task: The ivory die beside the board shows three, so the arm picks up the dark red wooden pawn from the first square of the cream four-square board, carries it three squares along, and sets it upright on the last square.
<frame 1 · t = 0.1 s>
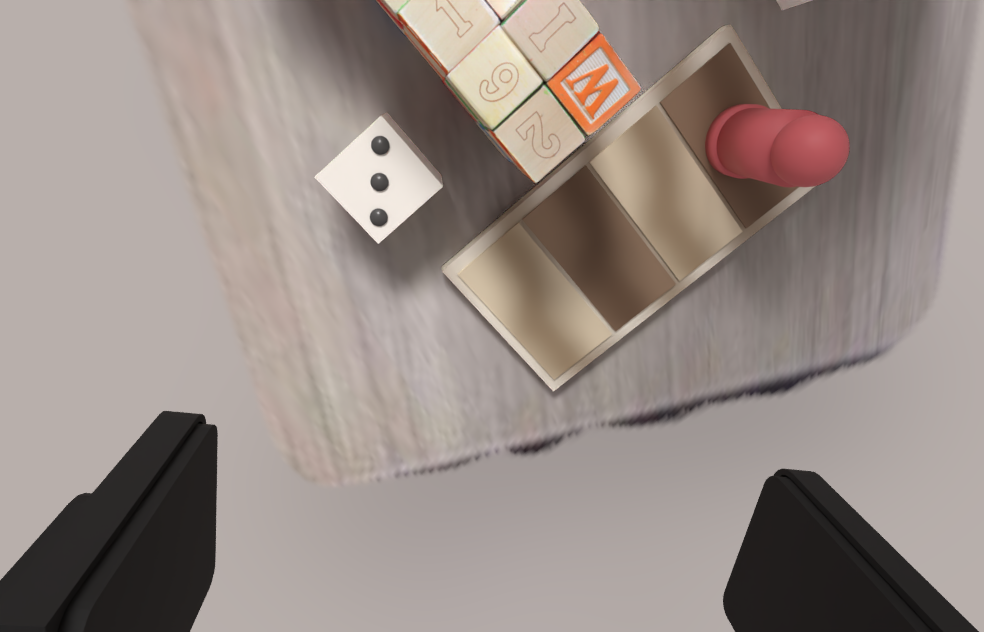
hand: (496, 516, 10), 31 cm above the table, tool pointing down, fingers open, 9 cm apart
pawn: (738, 140, 38), point 1 cm above the table, touching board
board: (628, 221, 41), on the table
die: (385, 171, 38), on the table
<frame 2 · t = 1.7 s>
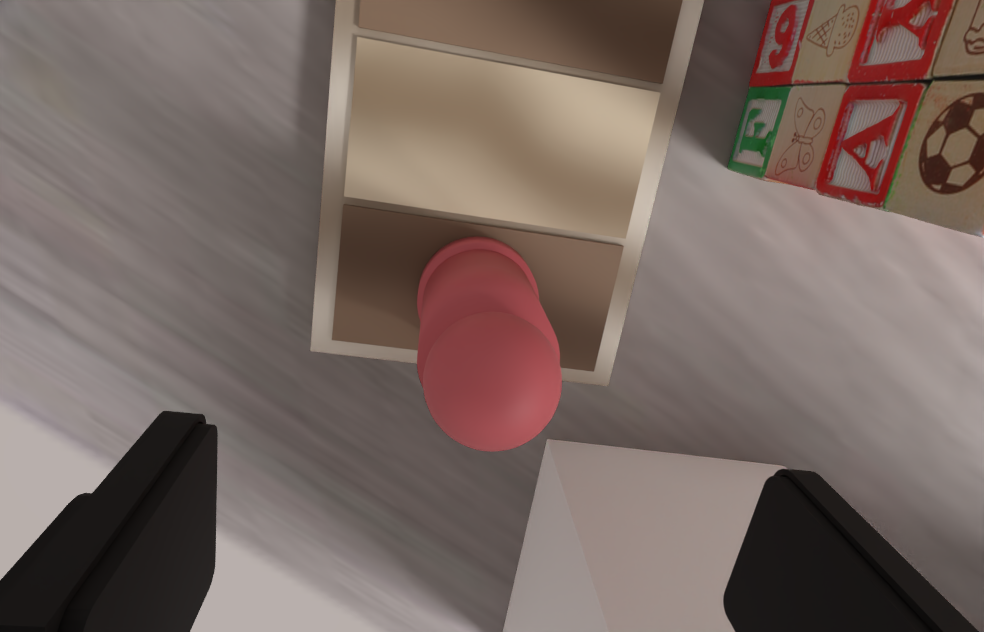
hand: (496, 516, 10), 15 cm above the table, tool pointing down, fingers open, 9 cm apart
milk: (635, 555, 30), on the table
pawn: (476, 293, 23), point 1 cm above the table, touching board
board: (510, 63, 22), on the table
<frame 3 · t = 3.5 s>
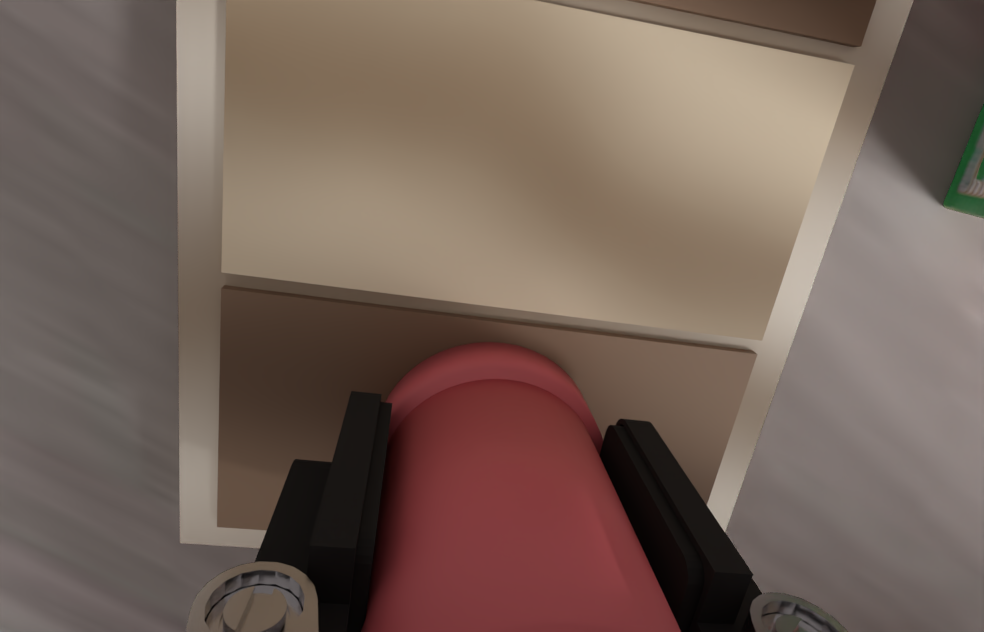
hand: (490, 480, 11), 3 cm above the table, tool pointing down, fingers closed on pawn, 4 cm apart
pawn: (484, 441, 12), point 1 cm above the table, touching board, gripper
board: (550, 7, 11), on the table
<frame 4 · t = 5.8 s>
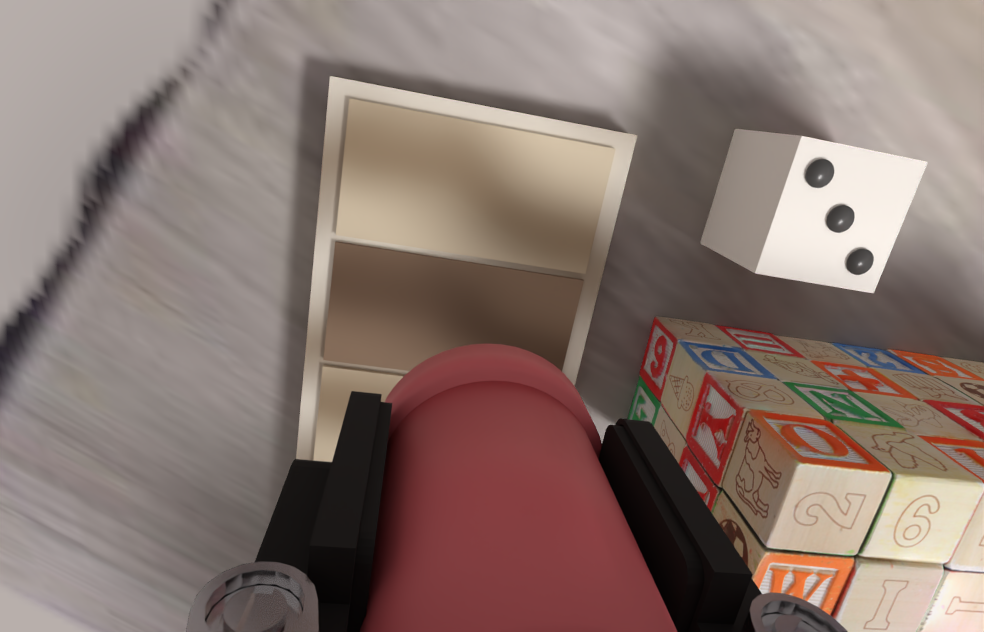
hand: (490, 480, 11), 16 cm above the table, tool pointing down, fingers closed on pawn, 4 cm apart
stack of blocks: (831, 396, 31), on the table
pawn: (483, 442, 12), point 15 cm above the table, touching gripper
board: (442, 365, 28), on the table
die: (768, 197, 27), on the table
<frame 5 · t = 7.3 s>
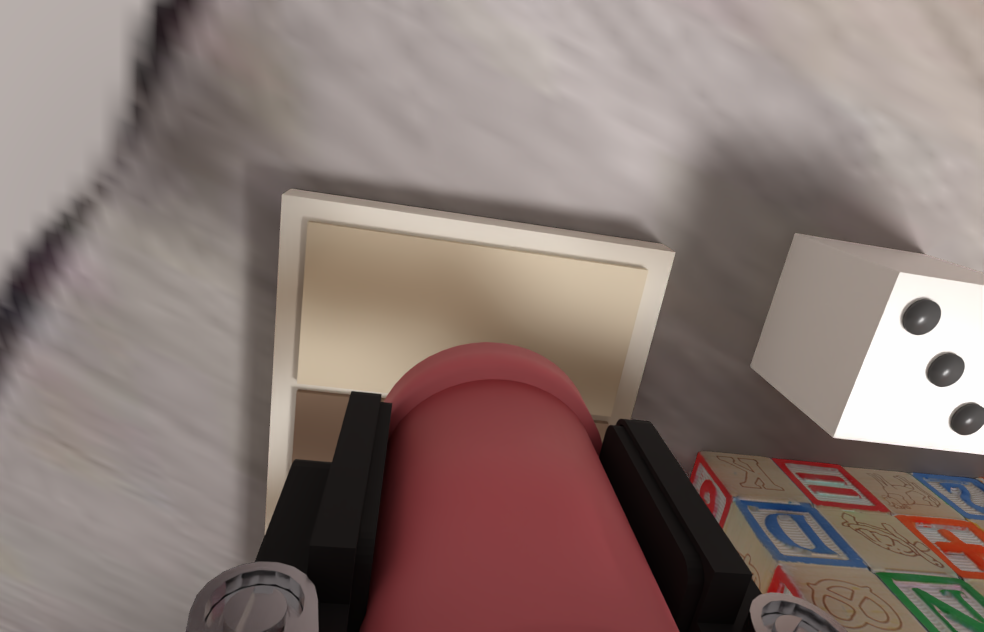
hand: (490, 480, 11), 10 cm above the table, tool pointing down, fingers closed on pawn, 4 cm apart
stack of blocks: (908, 529, 26), on the table
pawn: (483, 441, 12), point 8 cm above the table, touching gripper
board: (436, 515, 23), on the table
die: (834, 310, 22), on the table
when the fingers open (4 cm above the table, at t = 8.6 s): pawn drops 1 cm, resting on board.
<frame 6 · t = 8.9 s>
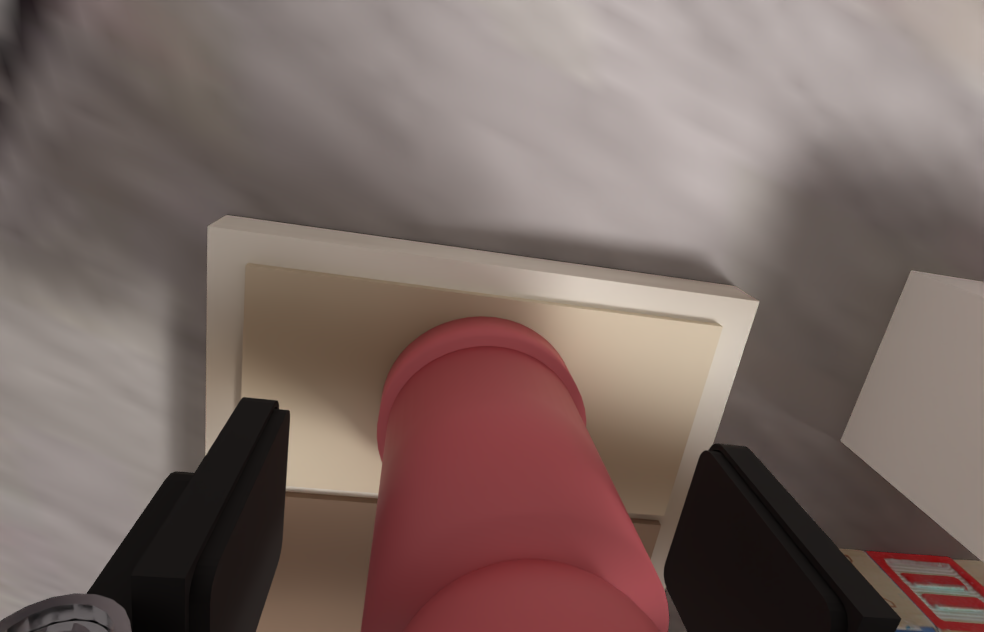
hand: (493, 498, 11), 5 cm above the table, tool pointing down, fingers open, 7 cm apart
pawn: (478, 407, 14), point 1 cm above the table, touching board
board: (431, 629, 18), on the table
die: (953, 369, 16), on the table
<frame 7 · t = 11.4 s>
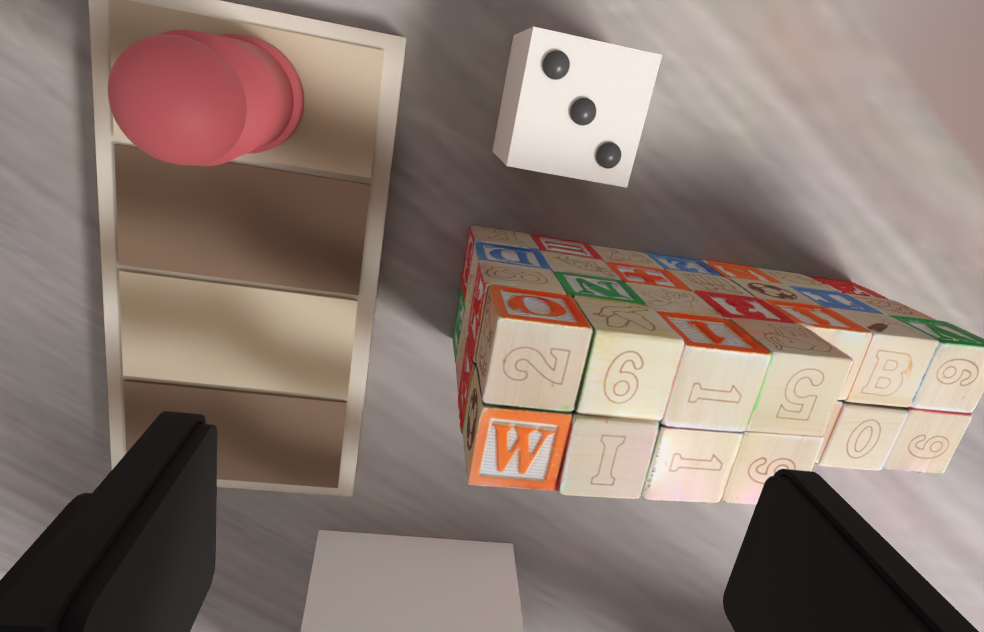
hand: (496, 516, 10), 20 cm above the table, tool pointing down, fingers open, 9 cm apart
stack of blocks: (654, 307, 32), on the table
milk: (404, 610, 38), on the table
pawn: (248, 94, 25), point 1 cm above the table, touching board
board: (250, 274, 29), on the table
die: (555, 105, 28), on the table
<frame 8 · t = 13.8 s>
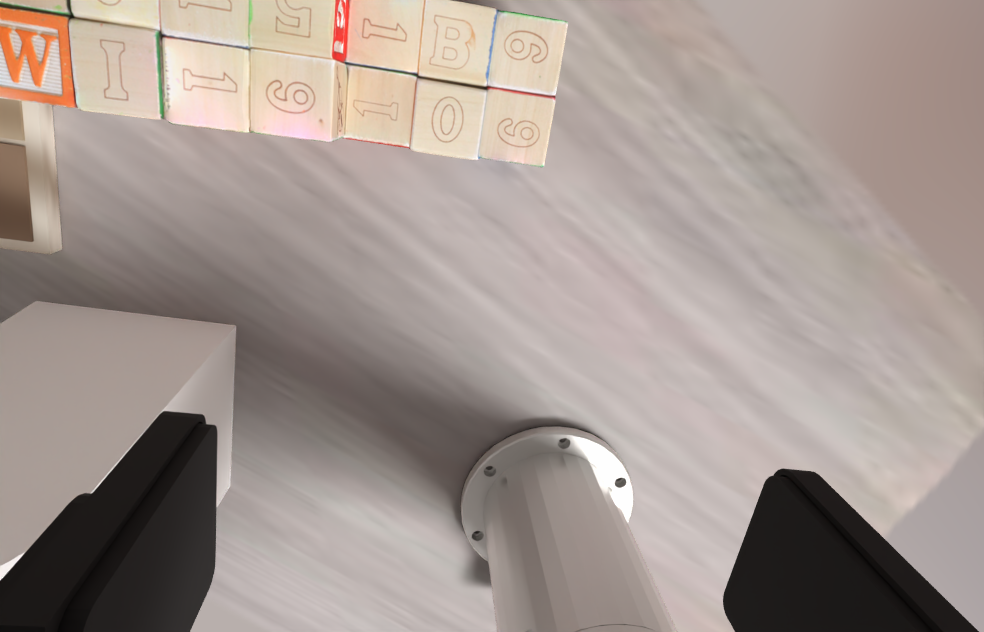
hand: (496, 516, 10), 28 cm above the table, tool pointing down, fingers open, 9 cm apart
stack of blocks: (339, 67, 34), on the table
milk: (141, 398, 39), on the table
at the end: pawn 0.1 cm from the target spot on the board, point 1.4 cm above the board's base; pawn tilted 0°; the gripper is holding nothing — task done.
